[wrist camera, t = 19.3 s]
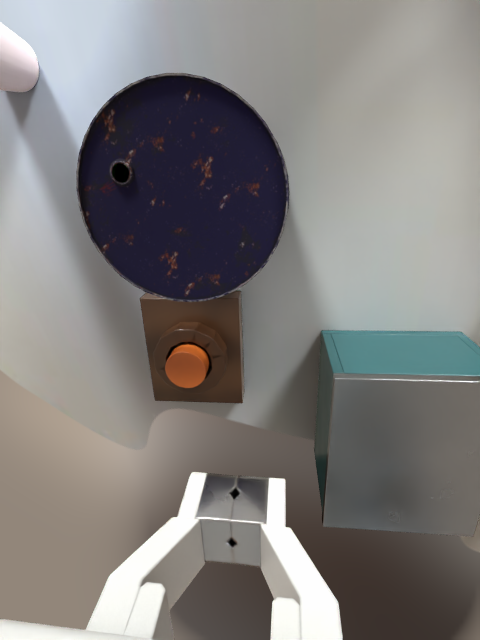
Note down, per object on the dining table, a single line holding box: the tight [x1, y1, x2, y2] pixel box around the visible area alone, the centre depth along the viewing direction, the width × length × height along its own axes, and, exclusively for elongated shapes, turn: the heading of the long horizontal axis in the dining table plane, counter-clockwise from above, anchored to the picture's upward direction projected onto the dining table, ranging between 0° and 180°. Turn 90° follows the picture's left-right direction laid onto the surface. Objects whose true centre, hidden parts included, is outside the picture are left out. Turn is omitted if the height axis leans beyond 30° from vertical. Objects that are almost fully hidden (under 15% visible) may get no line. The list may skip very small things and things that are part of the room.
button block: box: [140, 291, 244, 403], centre depth 34 cm, size 11×9×4 cm
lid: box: [322, 373, 480, 537], centre depth 28 cm, size 15×13×1 cm
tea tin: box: [314, 330, 480, 512], centre depth 32 cm, size 15×13×8 cm
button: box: [165, 343, 209, 388], centre depth 31 cm, size 4×4×2 cm
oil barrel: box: [77, 73, 289, 302], centre depth 23 cm, size 10×10×15 cm
